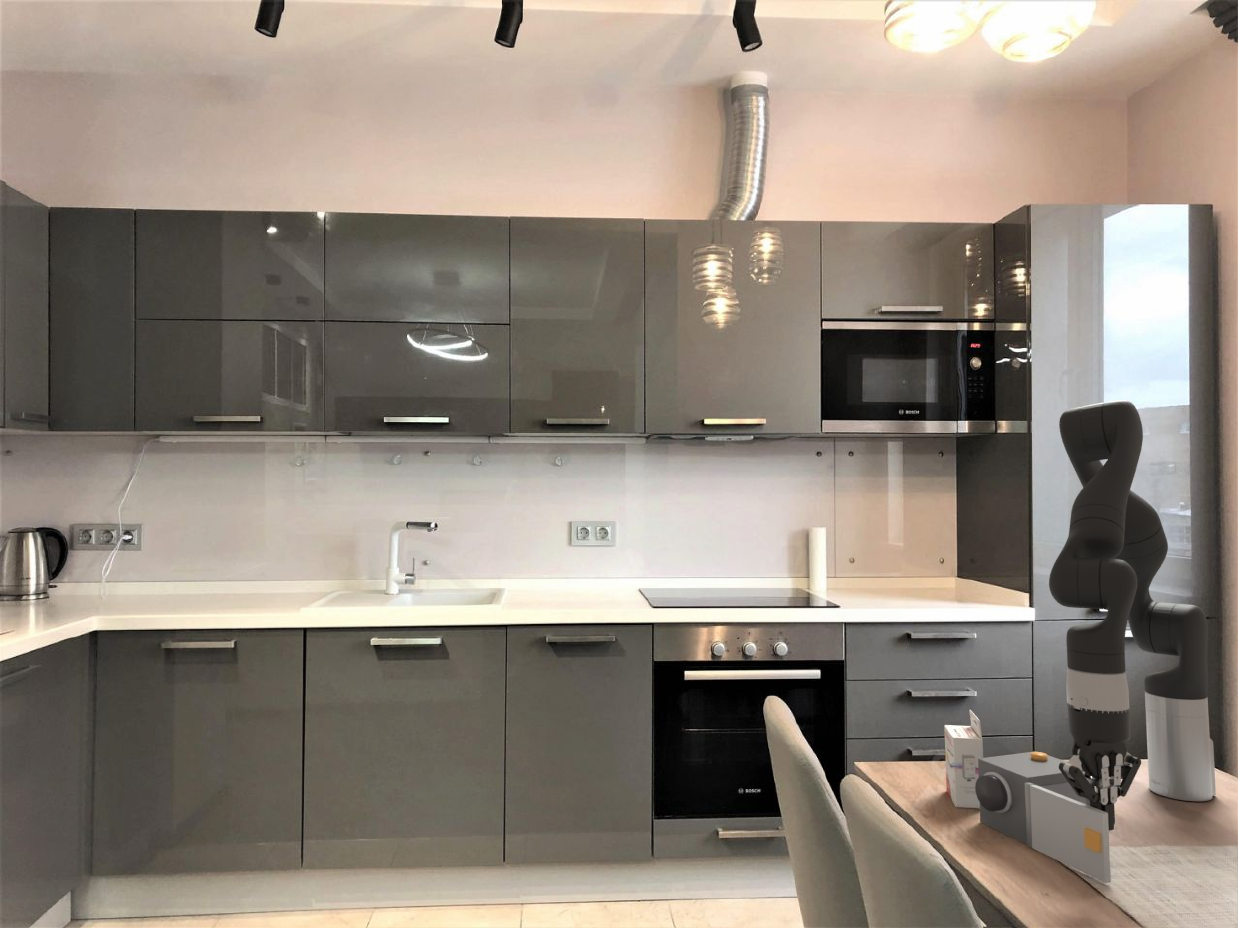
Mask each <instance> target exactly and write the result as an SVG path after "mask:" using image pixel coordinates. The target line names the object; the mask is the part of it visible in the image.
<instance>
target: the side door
mask: <svg viewBox="0 0 1238 928" xmlns="http://www.w3.org/2000/svg"><path fill="white" fill-rule="evenodd" d="M1025 803H1026V831H1027V845H1026V846H1027V847H1029V848H1031V849H1034V850H1036V851H1037V852H1039V853H1041V854H1044V855H1045V856H1048V857H1049V858H1051V859H1054V860H1056V861H1059V862H1060V863H1062V864H1065V865H1067V866H1068V867H1071V868H1072V869H1075V870H1076V871H1079V872H1081V873H1083V874H1085V875H1087V876H1090V877H1091V878H1093V879H1096V880H1098V881H1100V882H1102V883H1104V884H1109V883H1111V881H1112V879H1111V876H1112V875H1111V856H1110V855H1111V854H1110V852H1111V851H1110V831H1109V827H1108V813H1107V812H1104V811H1102V810H1099V809H1096V808H1094V807H1091V806H1089V805H1086V804H1084V803H1081V802H1078V801H1076V800H1073V799H1071V798H1068V797H1066V796H1063V795H1060V794H1058V793H1055V792H1053V791H1050V790H1048V789H1045V788H1042V787H1040V786H1037V785H1034V784H1033V783H1028V782H1027V783H1025Z"/></svg>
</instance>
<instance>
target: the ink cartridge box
mask: <svg viewBox="0 0 1238 928" xmlns="http://www.w3.org/2000/svg"><path fill="white" fill-rule="evenodd" d="M968 712H969V716H970V717H969V719H970V725H956V724H955V725H951V724H944V726H943V729H944V745H945V746H944V751H945V780H946V781H945V782H946V783H945V784H946V791H947V793H948V796H949V798H950V799H951V801H952V803H953V804H954V806H955V808H962V809H964V808H965V809H980V802H979V800H978V798H977V795H976V791H975V784H976V781H977V779H978V778H979V772H978V759H979V758H984V748H983V747H984V746H983V736H982V727H981V726H982V725H981V720H980V719H979V717H978V716H977V715H975V713H974V712H973V711H972V710H971V709H969V711H968Z"/></svg>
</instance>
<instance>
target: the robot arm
mask: <svg viewBox="0 0 1238 928" xmlns="http://www.w3.org/2000/svg"><path fill="white" fill-rule="evenodd" d="M1140 416H1141V415H1140V414H1139V411H1138V409H1137V408H1136V406H1135V405H1134V403H1133V402H1131V401H1130V400H1126V399H1120V400H1119V399H1118V400H1111V401H1105V402H1100V403H1098V402H1097V403H1094V404H1088V405H1084V406H1078V407H1075V408H1073V407H1072V408H1070V409H1067V410H1065V411H1064V412H1063V413H1062V414H1061V415H1060V417H1059V422H1058V423H1059V424H1058V425H1059V427H1058V428H1059V432H1060V434H1059V435H1060V437H1061V442H1062V444H1063V447H1064V449H1065V452H1066V454H1067V457H1068V459H1069V461H1070V462H1071V463H1070V464H1071V465H1072V467H1073V470H1074V471H1075V474H1076V476H1077V478H1078V479H1079V481H1080V484H1081V487H1082V488H1081V489H1080V491H1079V493H1078V494H1077V495H1076V497H1075V499H1074V502H1073V503H1072V507H1071V511H1070V520H1069V530H1068V536H1067V538H1066V541H1065V544H1064V546H1063V548H1062V549H1061V551H1060V553H1059V554H1058V556H1057V558H1056V559H1055V561H1054V563H1053V565H1052V568H1051V571H1050V573H1049V580H1048V586H1049V587H1048V588H1049V591H1050V594H1051V596H1052V598H1053V599H1054V601H1055V602H1057V603H1058V604H1059V605H1060V606H1063V607H1065V608H1066V607H1067V608H1076V609H1093V610H1106V611H1107V612H1106V613H1107V614H1106V616H1105V618H1104V619H1103V620H1101V621H1098V622H1094V623H1087V624H1079V625H1074V626H1071V627H1070V628H1068V630H1067V632H1066V640H1065V641H1066V658H1067V659H1066V661H1067V662H1066V665H1067V673H1066V681H1065V683H1066V684H1065V686H1066V689H1065V690H1066V691H1065V692H1066V708H1067V709H1066V712H1067V713H1066V715H1067V730H1068V733H1069V734H1070V735H1071V736H1072V738H1073V744H1072V747H1071V755H1072V757H1071V758H1070V759H1069V760H1068V761H1066V762H1067V764H1066V763H1064V762H1061V763H1060V764H1059V770H1060V771H1061V772H1062V774H1063V775H1064V777H1065V778H1066V780H1067V781H1068V782H1069V784H1070V785H1071V787H1072V788H1073V790H1074V791H1075V792H1076V794H1077V795H1078V796H1080V797H1084V798H1086V799H1089V801H1090V806H1091V807H1094V808H1096V809H1099V810H1102V811H1104V812H1107V813H1108V827H1109V832H1110V831H1113V830H1115V823H1116V815H1115V811H1116V810H1115V804H1116V803H1117V802H1118V798H1119V797H1122V798H1124V797H1126V796H1127V794H1128V792H1129V789H1130V788H1131V786H1132V784H1133V781H1134V779H1135V777H1136V775H1137V773H1138V771H1139V769H1140V767H1141V764H1142V760H1141V758H1139V757H1137V756H1133V755H1132V754H1130V753H1129V752H1128V746H1127V743H1126V742H1129V740H1130V739H1131V736H1132V734H1131V733H1132V731H1131V716H1130V714H1131V712H1130V711H1131V709H1130V691H1129V683H1128V680H1127V679H1128V678H1127V672H1126V654H1125V653H1126V652H1125V651H1126V650H1125V649H1126V648H1125V645H1126V643H1125V641H1126V639H1125V638H1126V631H1127V625H1129V629H1130V631H1131V635H1132V638H1133V640H1134V642H1135V644H1136V645H1137V647H1138V648H1139V649H1141V650H1142V651H1144V652H1147V653H1152V654H1159V655H1168V656H1175V657H1179V658H1178V664H1177V666H1175V667H1174V668H1171V669H1169V670H1168V669H1167V670H1164V671H1159V672H1158V671H1157V672H1152V673H1149V674H1147V675H1145V677H1144V680H1143V681H1144V682H1143V683H1144V702H1145V703H1144V705H1145V724H1146V745H1147V768H1148V771H1147V772H1148V788H1149V790H1150V791H1152V792H1153V793H1155V794H1157V795H1159V796H1162V797H1165V798H1170V799H1174V800H1181V801H1186V802H1187V801H1188V802H1208V801H1210V800H1212V799H1213V796H1216V793H1217V790H1216V772H1215V770H1216V769H1215V751H1214V750H1215V749H1214V741H1213V740H1212V739H1211V737H1210V720H1209V719H1210V718H1209V717H1210V716H1209V703H1208V701H1209V698H1208V697H1209V696H1208V682H1209V681H1208V680H1209V676H1208V675H1209V674H1208V673H1209V670H1208V643H1209V642H1208V641H1209V637H1208V636H1209V635H1208V634H1209V629H1208V620H1207V616H1206V614H1205V612H1204V610H1203V609H1202V608H1201V607H1200V606H1197V605H1195V604H1194V605H1193V604H1185V603H1173V602H1163V601H1161V602H1159V601H1155V600H1154V599H1153V598H1152V597H1151V594H1150V586H1151V584H1152V581H1153V579H1154V578H1155V576H1156V574H1157V573H1158V572H1159V571H1160V568H1161V567H1162V565H1163V563H1164V561H1165V560H1166V557H1167V553H1168V549H1169V543H1168V540H1167V539H1168V538H1167V536H1166V533H1165V531H1164V527H1163V525H1162V524H1163V523H1162V521H1161V519H1160V516H1159V513H1158V512H1157V511H1156V509H1155V508H1154V507H1153V506H1152V505H1151V504H1150V503H1149V502H1148V501H1146V499H1144V498H1143V497H1141V496H1140V495H1139V494H1137V493H1136V492H1134V491H1133V490H1131V487H1132V484H1133V480H1134V478H1135V475H1136V471H1137V467H1138V463H1139V461H1140V460H1139V459H1140V456H1141V452H1142V449H1143V448H1142V447H1143V441H1144V439H1143V438H1144V431H1143V424H1142V420H1141V417H1140ZM1104 460H1106V461H1105V462H1104V464H1103V463H1102V462H1101V461H1104Z"/></svg>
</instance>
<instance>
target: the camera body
mask: <svg viewBox="0 0 1238 928" xmlns="http://www.w3.org/2000/svg"><path fill="white" fill-rule="evenodd" d="M1061 762H1064V763H1066V764H1067V762H1068V761H1065V760H1062V759H1060V758H1056V757H1054V756H1051V755H1049V754H1047V753H1045V752H1041V751H1040V752H1039V751H1036V750H1035V751H1028V752H1020V753H1013V754H1005V755H1004V754H1003V755H997V756H989V757H983V758H979V759H978V772H979V778H978V779H977V781H976V784H975V791H976V795H977V798H978V800H979V802H980V808H979V822H980V823H981V824H984V825H985V826H986V827H987V826H988V827H989V828H991V829H994V830H996V831H998V832H1000V833H1002V834H1004V835H1006V836H1008V837H1010V838H1012V839H1014V840H1016V841H1019V842H1021V843H1022V844H1025V845H1026V846H1027V831H1026V803H1025V783H1027V782H1028V783H1033V784H1034V785H1037V786H1040V787H1042V788H1045V789H1048V790H1050V791H1053V792H1055V793H1058V794H1060V795H1063V796H1066V797H1068V798H1071V799H1073V800H1076V801H1078V802H1081V803H1084V804H1086V805H1089V806H1090V801H1089V799H1086V798H1084V797H1080V796H1078V795H1077V794H1076V792H1075V791H1074V790H1073V788H1072V787H1071V785H1070V784H1069V782H1068V781H1067V780H1066V778H1065V777H1064V775H1063V774H1062V772H1061V771H1060V770H1059V764H1060V763H1061Z"/></svg>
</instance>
